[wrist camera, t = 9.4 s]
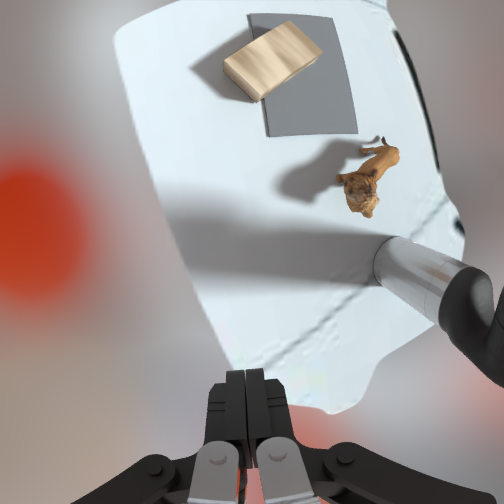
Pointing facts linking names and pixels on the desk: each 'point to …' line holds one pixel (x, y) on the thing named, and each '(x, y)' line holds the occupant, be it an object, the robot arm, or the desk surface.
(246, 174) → the desk surface
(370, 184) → the lion figurine
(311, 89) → the slate mat
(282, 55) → the birch block
